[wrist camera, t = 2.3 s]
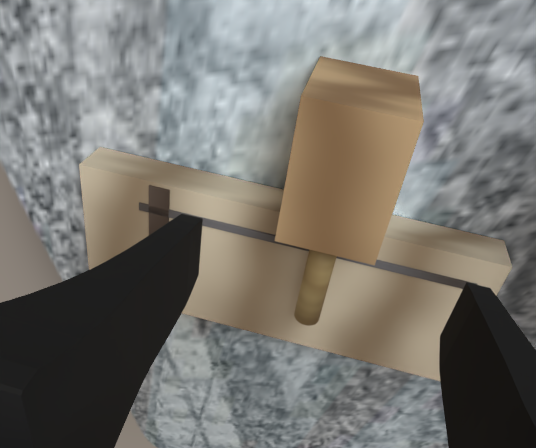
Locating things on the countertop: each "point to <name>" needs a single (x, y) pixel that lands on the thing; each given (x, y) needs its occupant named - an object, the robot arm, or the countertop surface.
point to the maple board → (291, 262)
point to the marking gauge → (346, 169)
